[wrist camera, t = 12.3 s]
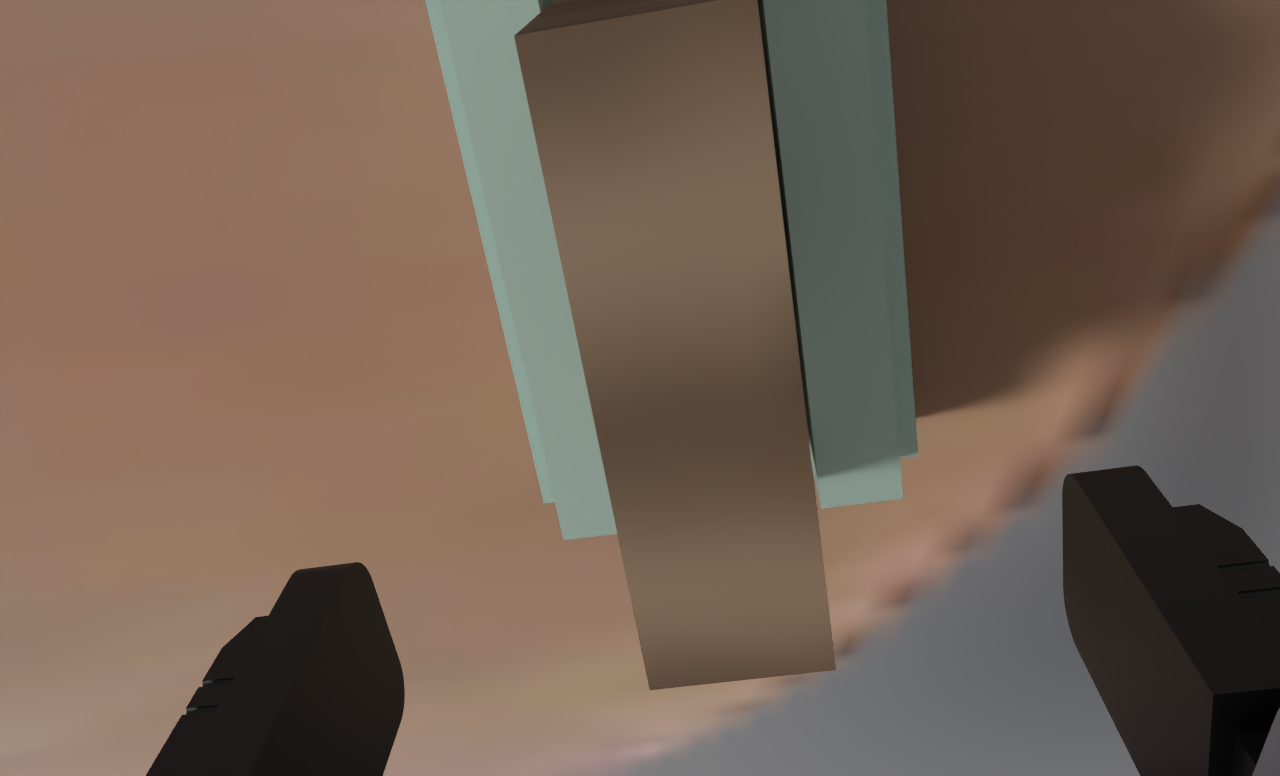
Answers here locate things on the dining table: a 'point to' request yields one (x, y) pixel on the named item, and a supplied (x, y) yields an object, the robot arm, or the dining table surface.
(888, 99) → the picture ledge
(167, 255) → the dining table surface
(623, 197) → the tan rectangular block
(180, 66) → the dining table surface
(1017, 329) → the dining table surface
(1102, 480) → the robot arm
